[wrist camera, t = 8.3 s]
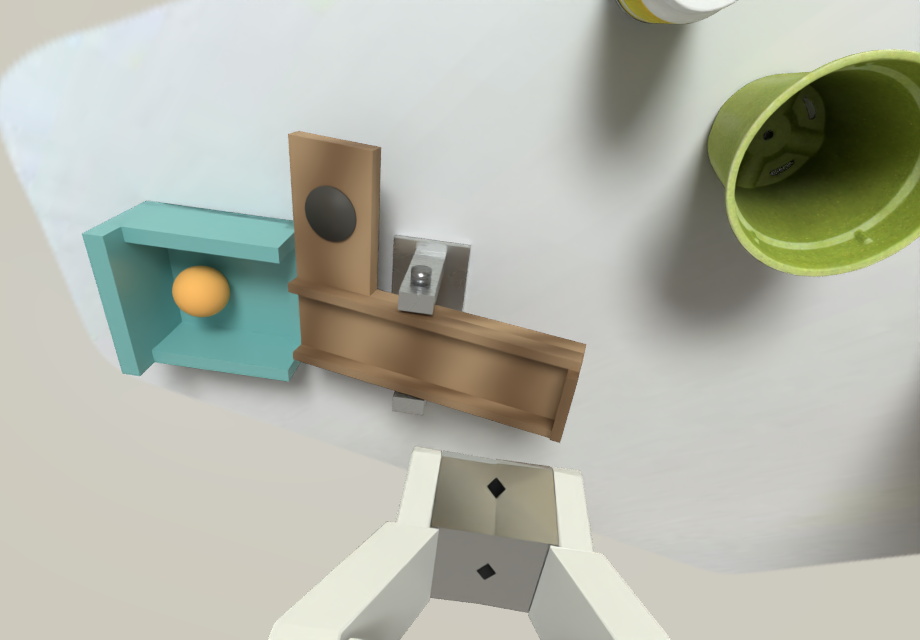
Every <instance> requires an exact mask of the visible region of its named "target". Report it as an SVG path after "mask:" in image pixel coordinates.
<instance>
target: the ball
mask: <svg viewBox="0 0 920 640" xmlns="http://www.w3.org/2000/svg"><path fill="white" fill-rule="evenodd" d="M172 294H173V298H174V301H175V303H176V304H177V306H178V307H179V308H180V309H181V310H182V311H184V312H185V313H187V314H189V315H192V316H195V317H209V316H212V315H215V314H217V313H218V312H220V311H221V310H222V309H223V308H224V307H225V306H226V304H227V303H228V300H229V297H230V287H229V284H228V281H227V279H226V278H225V277H224V275H223V274H222V273H220V272H219V271H218V270H216V269H214V268H212V267H208V266H192V267H189V268H187V269H185V270H183V271H182V272H181V273H180V274H179V275H178V276H177V277H176V279H175V281H174V283H173V287H172Z"/></svg>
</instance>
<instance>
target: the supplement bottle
mask: <svg viewBox="0 0 920 640" xmlns="http://www.w3.org/2000/svg"><path fill="white" fill-rule="evenodd" d="M616 1H617V3H618V4H619V6H620V7H621V9H622V10H623V11H624V12H625V13H626V14H628V15H629V16H630V17H632V18H634V19H636V20H638V21H641V22H645V23H666V24H689V23H694V22H697V21H700V20H703V19H705V18H708V17H710V16H712V15H713V14H715V13H717V12H718V11H720V10H721V9H723V8H725V7H727V6H729V5H731V4H733V3H735V2H736V1H737V0H616Z"/></svg>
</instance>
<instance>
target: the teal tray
mask: <svg viewBox="0 0 920 640" xmlns="http://www.w3.org/2000/svg"><path fill="white" fill-rule="evenodd" d="M82 236H83V239H84V243H85V246H86V249H87V253H88V256H89V260H90V263H91V267H92V270H93V274H94V277H95V280H96V284H97V287H98V291H99V294H100V298H101V301H102V304H103V308H104V311H105V315H106V318H107V322H108V325H109V329H110V332H111V335H112V339H113V342H114V346H115V349H116V353H117V356H118V360H119V363H120V366H121V370H122V373H123V374H129V375H136V376H141V375H142V374H143V373H144V372H145V371H146V370H147V369H148V368H149V367H150V366H151V365H152V364H153V363H154V362H157V363H164V364H170V365H177V366H184V367H191V368H198V369H205V370H212V371H219V372H226V373H233V374H240V375H247V376H254V377H261V378H268V379H275V380H282V381H290V379H291V377H292V376H293V374H294V372H295V371H296V369H297V367H298V366H299V364H300V363H301V362H300V361H297V360H294V359H293V351H294V350H295V349H297V348H298V347H299V346H300V345H301V332H300V316H299V300H298V295H297V294H293V293H290V292H288V283H289V282H290V281H292V280H293V279H295V278H296V277H297V268H296V252H295V236H294V221H291V220H284V219H276V218H269V217H262V216H255V215H247V214H240V213H233V212H225V211H218V210H211V209H204V208H196V207H189V206H182V205H174V204H167V203H160V202H152V201H145V202H143V203H141V204H139V205H137V206H135V207H133V208H131V209H129V210H127V211H125V212H123V213H121V214H119V215H117V216H115V217H113V218H111V219H109V220H108V221H106V222H104V223H102V224H100V225H98V226H96V227H94V228H92V229H90V230H88V231H86V232H84V233H82ZM192 266H208V267H212V268H214V269H216V270H218V271H219V272H220V273H222V274H223V275H224V277H225V278H226V279H227V281H228V284H229V287H230V297H229V300H228V303H227V304H226V306H225V307H224V308H223V309H222V310H221V311H220V312H218V313H217V314H215V315H212V316H209V317H195V316H192V315H189V314H187V313H185V312H184V311H182V310H181V309H180V308H179V307H178V306H177V304H176V303H175V301H174V298H173V294H172V287H173V283H174V281H175V279H176V277H177V276H178V275H179V274H180V273H181V272H182V271H183V270H185V269H187V268H189V267H192Z"/></svg>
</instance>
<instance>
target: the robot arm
mask: <svg viewBox="0 0 920 640" xmlns="http://www.w3.org/2000/svg"><path fill="white" fill-rule="evenodd" d="M441 458H442V459H441ZM592 543H593V542H592V537H591V529H590V523H589V516H588V509H587V503H586V496H585V490H584V483H583V477H582V474H581V472H580V471H579V470H572V469H565V468H558V467H550V466H543V465H536V464H529V463H521V462H514V461H507V460H499V459H490V458H484V457H478V456H472V455H466V454H461V453H455V452H449V451H443V453H442V451H440V450H434V449H428V448H423V447H417V446H415V447H414V449H413V452H412V455H411V459H410V463H409V467H408V472H407V476H406V480H405V485H404V489H403V493H402V497H401V501H400V505H399V510H398V514H397V518H396V522H389V521H387V522H386V523H385V524H383V525H382V526H381V527H380V528H379V529H378V530H377V531H376V532H374V533H373V534H372V535H371V536H370V537H369V538H368V539H367V540H366V541H365V542H363V543H362V544H361V545H360V546H359V547H358V548H357V549H356V550H355V551H354V552H352V553H351V554H350V555H349V556H348V557H347V558H346V559H345V560H344V561H342V562H341V563H340V564H339V565H338V566H337V567H336V568H335V569H334V570H332V571H331V572H330V573H329V574H328V575H327V576H326V577H325V578H324V579H323V580H321V581H320V582H319V583H318V584H317V585H316V586H315V587H314V588H312V590H310V591H309V592H308V593H307V594H306V595H305V596H304V597H303V598H301V599H300V600H299V601H298V602H297V603H296V604H295V605H294V606H293V607H291V608H290V609H289V610H288V611H287V612H286V613H285V614H284V615H283V616H281V617H280V618H279V619H278V620H277V621H276V622H275V624H274V626H273V628H272V631H271V633H270V636H269V639H268V640H400V639H401V638H402V636H403V635H404V634H405V632H406V631H407V630H408V628H409V627H410V626H411V625H412V623H413V622H414V621H415V619H416V618H417V617H418V615H419V614H420V613H421V612H422V610H423V609H424V607H425V606H426V605H427V604H428V602H429V600H430V598H436V599H444V600H453V601H460V602H468V603H476V604H483V605H488V606H493V607H499V608H504V609H510V610H515V611H522V612H527V613H529V615H528V616H529V618H530V620H531V622H532V624H533V626H534V628H535V630H536V632H537V634H538V635H539V638H540V640H671V639H670V637H669V636H668V635H667V634H666V632H665V631H664V630H663V629H662V627H661V626H660V625H659V624H658V622H657V621H656V620H655V619H654V617H653V616H652V615H651V614H650V613H649V611H648V610H647V609H646V607H645V606H644V605H643V604H642V602H641V601H640V600H639V598H638V597H637V596H636V595H635V593H634V592H633V591H632V590H631V588H630V587H629V586H628V585H627V584H626V582H625V581H624V580H623V578H622V577H621V576H620V575H619V573H618V572H617V571H616V570H615V568H614V567H613V566H612V565H611V564H610V562H609V561H608V560H607V558H606V557H605V556H604V554H602V553H596V552H594V550H593V544H592Z"/></svg>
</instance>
